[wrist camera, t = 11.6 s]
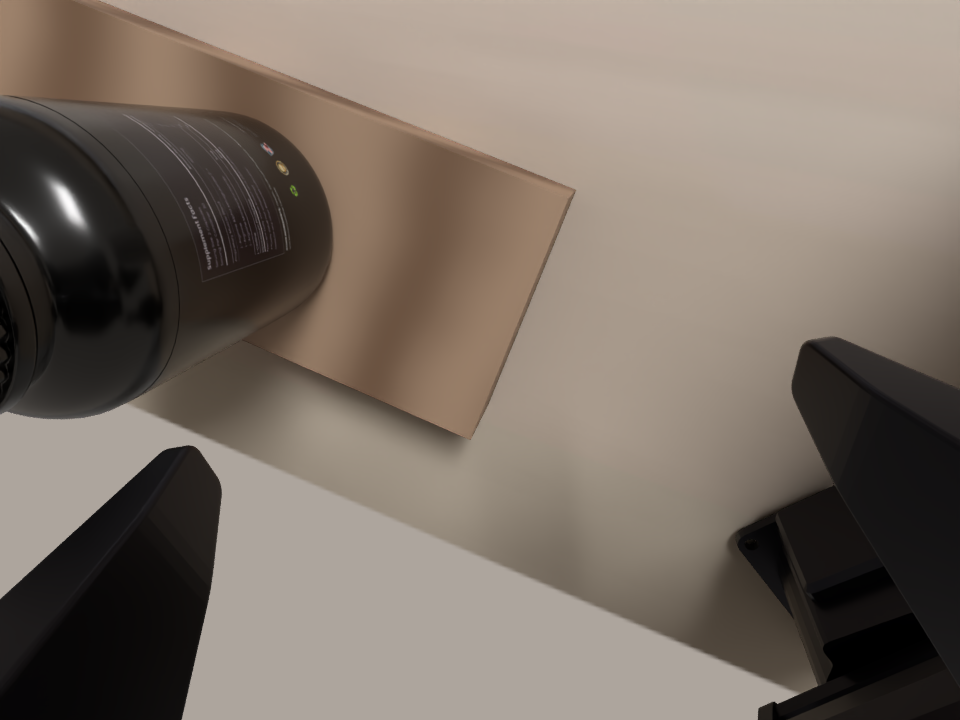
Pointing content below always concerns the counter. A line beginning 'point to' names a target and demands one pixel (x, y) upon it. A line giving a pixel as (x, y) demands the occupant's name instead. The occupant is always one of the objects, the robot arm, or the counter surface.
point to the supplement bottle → (142, 245)
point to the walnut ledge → (338, 207)
